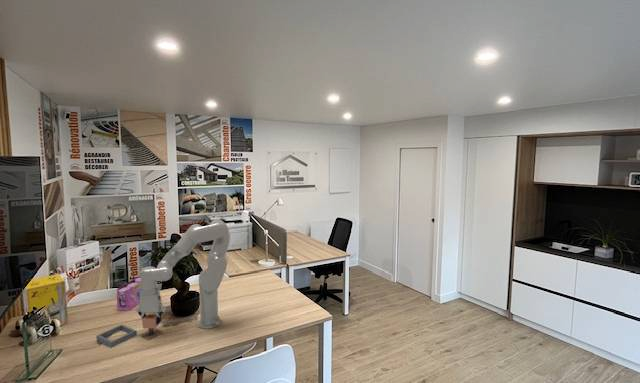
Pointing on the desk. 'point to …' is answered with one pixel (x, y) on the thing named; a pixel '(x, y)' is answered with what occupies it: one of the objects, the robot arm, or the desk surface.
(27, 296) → the packaging box
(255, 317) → the desk surface
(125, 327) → the tray
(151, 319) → the ring
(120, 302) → the gum box
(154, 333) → the board
